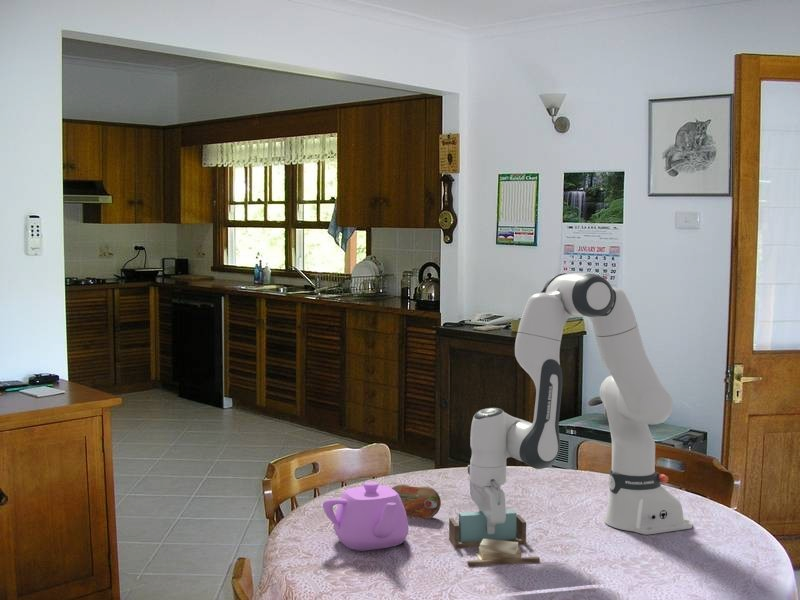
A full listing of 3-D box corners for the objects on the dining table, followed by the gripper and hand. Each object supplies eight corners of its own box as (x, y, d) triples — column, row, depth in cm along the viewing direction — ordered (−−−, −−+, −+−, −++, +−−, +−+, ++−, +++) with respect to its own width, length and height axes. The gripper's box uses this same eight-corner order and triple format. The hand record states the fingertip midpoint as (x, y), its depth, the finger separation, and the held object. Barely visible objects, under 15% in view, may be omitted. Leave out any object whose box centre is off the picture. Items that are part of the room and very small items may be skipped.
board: (513, 541, 221) (513, 509, 221) (515, 544, 219) (516, 513, 218) (458, 544, 219) (458, 512, 218) (460, 547, 216) (461, 515, 216)
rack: (518, 537, 223) (518, 514, 223) (541, 564, 206) (542, 539, 205) (449, 541, 220) (449, 518, 220) (466, 568, 203) (466, 543, 202)
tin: (386, 514, 241) (386, 484, 241) (390, 510, 244) (390, 481, 244) (438, 521, 236) (438, 490, 235) (442, 517, 239) (442, 487, 238)
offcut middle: (516, 551, 212) (516, 545, 212) (521, 558, 207) (521, 552, 207) (478, 552, 211) (478, 546, 211) (482, 559, 206) (482, 553, 206)
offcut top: (518, 548, 210) (518, 542, 209) (515, 554, 206) (515, 548, 205) (483, 544, 212) (483, 538, 212) (479, 550, 208) (479, 544, 208)
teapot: (312, 538, 222) (312, 479, 221) (390, 527, 231) (390, 470, 229) (343, 570, 201) (343, 506, 200) (427, 557, 210) (427, 495, 209)
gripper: (512, 486, 208) (512, 543, 209) (489, 463, 228) (489, 515, 229) (486, 487, 207) (486, 545, 208) (465, 464, 227) (465, 517, 228)
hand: (487, 529), depth 219 cm, fingers open, 4 cm apart
